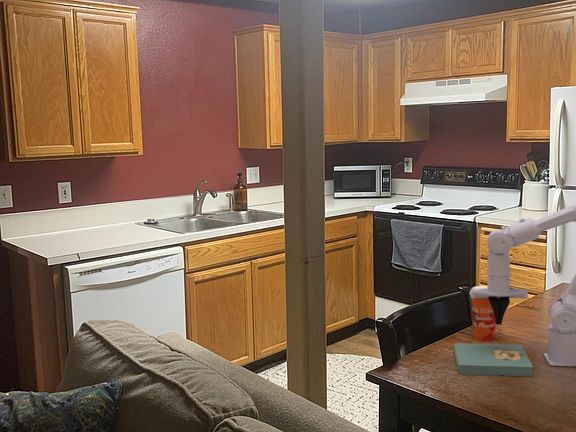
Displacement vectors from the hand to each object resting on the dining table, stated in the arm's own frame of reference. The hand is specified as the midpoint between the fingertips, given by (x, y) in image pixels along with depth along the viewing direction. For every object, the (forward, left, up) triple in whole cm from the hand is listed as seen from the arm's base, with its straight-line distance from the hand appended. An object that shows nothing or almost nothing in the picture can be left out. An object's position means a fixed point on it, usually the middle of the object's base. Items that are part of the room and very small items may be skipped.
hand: (498, 323), depth 167 cm
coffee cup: (+2, -15, -10) cm, 18 cm away
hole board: (+3, +5, -9) cm, 11 cm away
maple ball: (-1, +5, -8) cm, 9 cm away
